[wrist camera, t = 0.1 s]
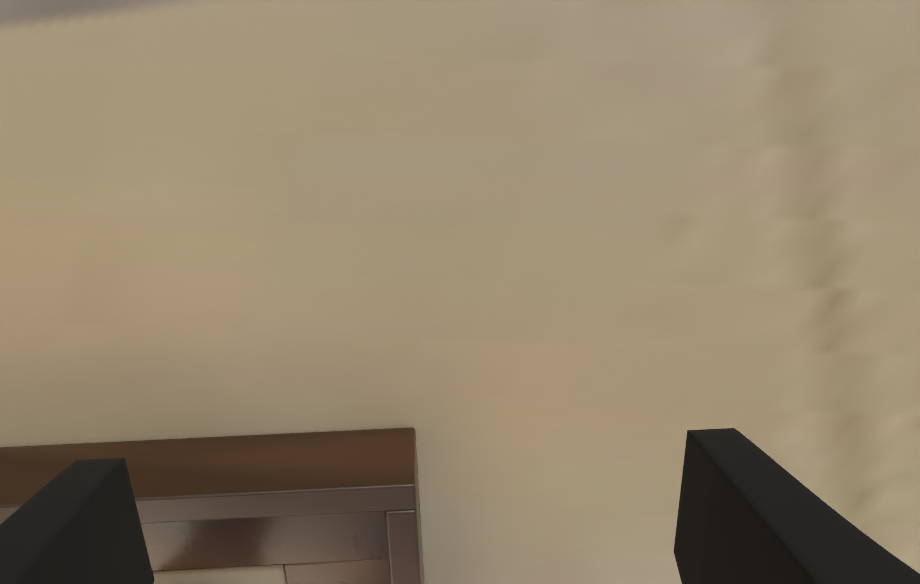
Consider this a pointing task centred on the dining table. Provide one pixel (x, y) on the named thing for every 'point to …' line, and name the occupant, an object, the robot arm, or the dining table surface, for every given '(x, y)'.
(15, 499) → the tray
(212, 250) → the dining table surface
